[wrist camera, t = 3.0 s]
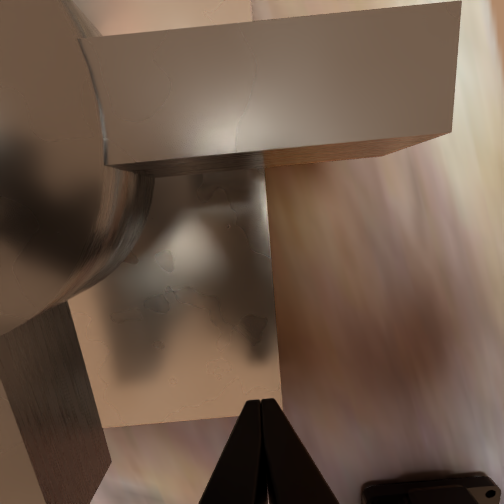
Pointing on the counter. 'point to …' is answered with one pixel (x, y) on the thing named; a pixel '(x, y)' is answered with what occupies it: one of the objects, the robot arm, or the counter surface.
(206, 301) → the stand
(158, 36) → the capstan
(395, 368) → the counter surface
